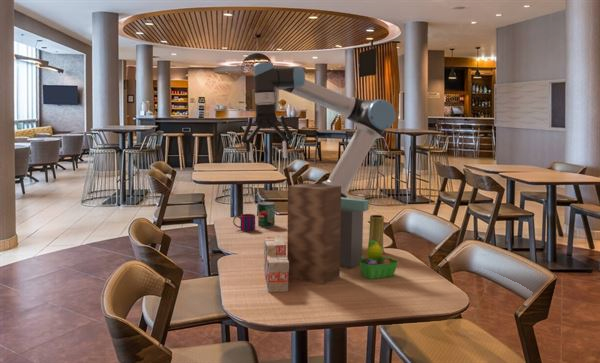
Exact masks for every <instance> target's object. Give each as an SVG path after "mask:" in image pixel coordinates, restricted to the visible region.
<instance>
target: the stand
mask: <svg viewBox="0 0 600 363" xmlns="http://www.w3.org/2000/svg"><path fill="white" fill-rule="evenodd" d="M340 228H341V186H334V185H322V183H309V182H302V183H296V184H292V185H288V186H287V243H286V244H287V245H286V256H287V258H288V261H289V277H288V279H295V280H299V279H300V281H304V282H309V283H315V284H320V285H327V284H329V283H331V282H332V281H334V280H336V279H337V278H340V276H341V275H340V274H341V272H340V271H341V267H340Z"/></svg>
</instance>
